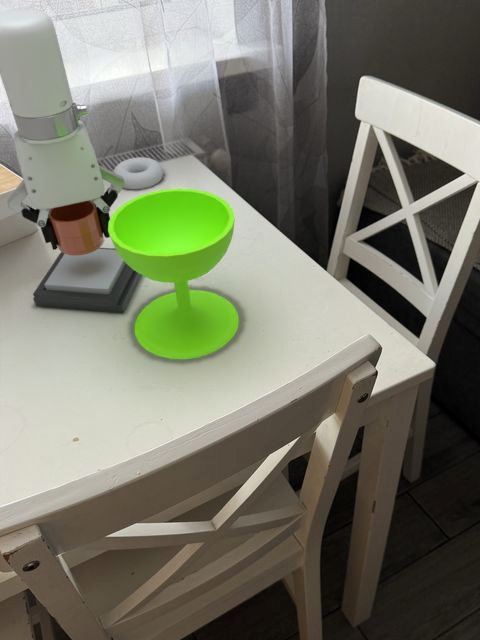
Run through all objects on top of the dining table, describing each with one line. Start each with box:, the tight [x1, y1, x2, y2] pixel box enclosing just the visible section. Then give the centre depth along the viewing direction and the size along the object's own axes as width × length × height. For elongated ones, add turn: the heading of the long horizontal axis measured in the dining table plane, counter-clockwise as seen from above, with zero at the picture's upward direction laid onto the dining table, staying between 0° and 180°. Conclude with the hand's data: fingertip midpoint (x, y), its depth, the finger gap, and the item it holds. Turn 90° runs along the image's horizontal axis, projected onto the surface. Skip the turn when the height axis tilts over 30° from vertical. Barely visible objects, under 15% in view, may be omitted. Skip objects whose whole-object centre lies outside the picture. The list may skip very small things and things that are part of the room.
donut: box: [112, 156, 164, 191], centre depth 119 cm, size 10×4×10 cm
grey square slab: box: [45, 249, 126, 295], centre depth 93 cm, size 10×10×2 cm
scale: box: [32, 247, 143, 314], centre depth 94 cm, size 14×13×4 cm
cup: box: [48, 200, 105, 256], centre depth 87 cm, size 7×7×6 cm
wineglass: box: [108, 188, 240, 360], centre depth 82 cm, size 16×16×18 cm
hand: (80, 238), depth 88 cm, fingers closed on cup, 7 cm apart
